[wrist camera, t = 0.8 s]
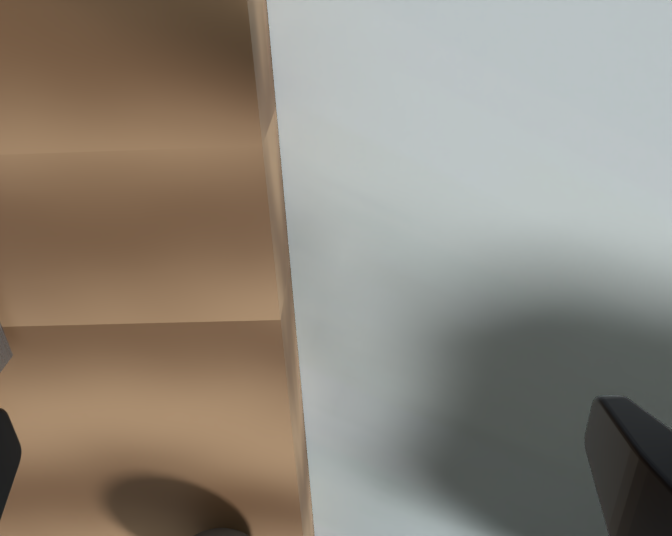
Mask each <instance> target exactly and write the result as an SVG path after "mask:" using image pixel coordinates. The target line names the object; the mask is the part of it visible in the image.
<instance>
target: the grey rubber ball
mask: <svg viewBox="0 0 672 536" xmlns="http://www.w3.org/2000/svg"><path fill="white" fill-rule="evenodd" d="M194 536H248V535H247V534H245V533H243V532H241V531H238V530H235V529H230V528H214V529H209V530H205V531H202V532H200V533H198V534H196V535H194Z"/></svg>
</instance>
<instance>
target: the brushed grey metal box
mask: <svg viewBox="0 0 672 536" xmlns="http://www.w3.org/2000/svg"><path fill="white" fill-rule="evenodd" d="M12 356H13V354H12V351H11V348H10V346H9V343H8V341H7V338H6V336H5V333H4V330H3V328H2V325H1V323H0V372H1V371H2V370H3V368H4V367H5V366H6V364H7V363H8V362H9V360H10V359H11V358H12Z"/></svg>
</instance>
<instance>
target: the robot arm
mask: <svg viewBox="0 0 672 536" xmlns="http://www.w3.org/2000/svg"><path fill="white" fill-rule="evenodd" d="M585 449H586V453H587V457H588V461H589V464H590V468H591V472H592V475H593V479H594V483H595V486H596V490H597V493H598V497H599V501H600V504H601V508H602V512H603V515H604V519H605V523H606V526H607V530H608V533H609V536H672V430H671V429H669V428H668V427H667V426H665V425H664V424H663V423H661V422H660V421H659V420H657V419H656V418H654V417H653V416H652V415H650V414H649V413H648V412H646V411H645V410H644V409H642V408H641V407H639V406H638V405H637V404H635V403H634V402H633V401H631V400H630V399H628V398H627V397H625V396H621V395H603V396H597V397H596V398H595V399H594V400H593V403H592V406H591V410H590V415H589V419H588V424H587V428H586V432H585ZM21 454H22V450H21V444H20V442H19V439H18V437H17V434H16V432H15V430H14V427H13V425H12V422H11V420H10V417H9V415H8V413H7V412H6V411H5V410H4V409H2V408H0V520H1V517H2V514H3V511H4V508H5V505H6V502H7V499H8V496H9V493H10V490H11V487H12V484H13V481H14V478H15V476H16V473H17V470H18V467H19V464H20V460H21Z"/></svg>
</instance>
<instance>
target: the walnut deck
mask: <svg viewBox="0 0 672 536" xmlns="http://www.w3.org/2000/svg"><path fill="white" fill-rule="evenodd" d="M0 323H1V325H2V328H3V330H4V333H5V336H6V338H7V341H8V343H9V346H10V348H11V351H12V354H13V356H12V358H11V359H10V360H9V362H8V363H7V364H6V366H5V367H4V368H3V370H2V371H1V372H0V408H2V409H4V410H5V411H6V412H7V413H8V415H9V417H10V420H11V422H12V425H13V427H14V430H15V432H16V434H17V437H18V439H19V442H20V444H21V450H22V454H21V460H20V464H19V467H18V470H17V473H16V476H15V478H14V481H13V484H12V487H11V490H10V493H9V496H8V499H7V502H6V505H5V508H4V511H3V514H2V517H1V520H0V536H194V535H196V534H198V533H200V532H202V531H205V530H209V529H214V528H230V529H235V530H238V531H241V532H243V533H245V534H247V535H248V536H314V526H313V514H312V503H311V492H310V481H309V470H308V459H307V448H306V436H305V425H304V414H303V403H302V392H301V381H300V369H299V358H298V347H297V336H296V325H295V314H294V303H293V291H292V280H291V269H290V258H289V247H288V236H287V225H286V213H285V202H284V191H283V180H282V169H281V158H280V147H279V135H278V124H277V113H276V102H275V91H274V80H273V69H272V57H271V46H270V35H269V24H268V13H267V2H266V0H0Z"/></svg>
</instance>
